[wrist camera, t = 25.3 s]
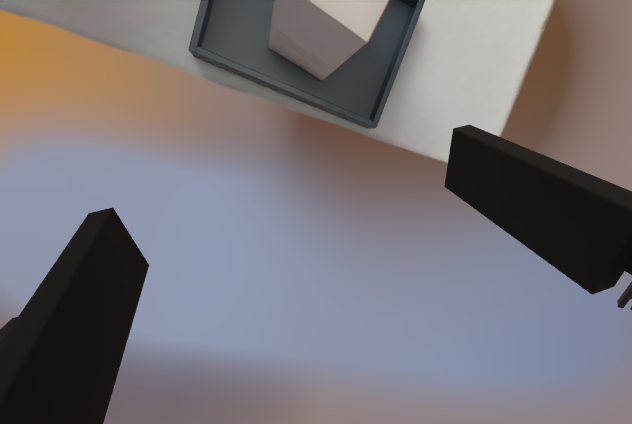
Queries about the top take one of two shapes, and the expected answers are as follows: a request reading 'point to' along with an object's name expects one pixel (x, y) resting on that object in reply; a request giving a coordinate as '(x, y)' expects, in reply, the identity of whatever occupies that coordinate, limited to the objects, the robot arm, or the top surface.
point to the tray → (286, 77)
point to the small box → (322, 31)
